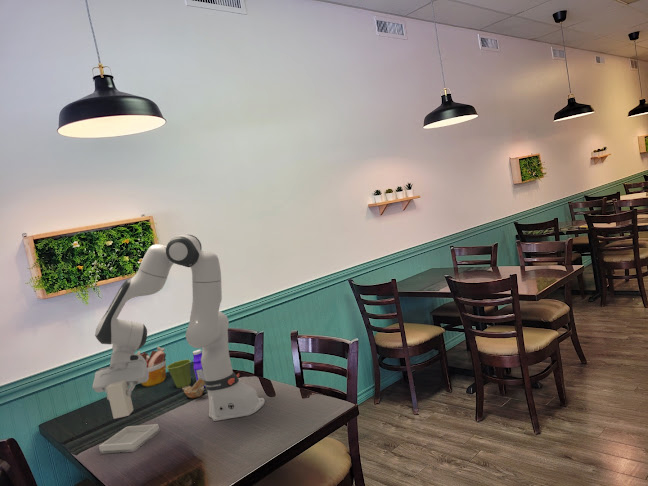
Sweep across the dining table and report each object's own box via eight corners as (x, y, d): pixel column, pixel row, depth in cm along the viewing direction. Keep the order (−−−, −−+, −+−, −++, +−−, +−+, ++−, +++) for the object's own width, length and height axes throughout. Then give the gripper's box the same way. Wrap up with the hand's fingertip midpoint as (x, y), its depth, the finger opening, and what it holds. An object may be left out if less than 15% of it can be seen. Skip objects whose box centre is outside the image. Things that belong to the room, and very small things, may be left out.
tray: (159, 431, 187) (158, 423, 187) (133, 451, 173) (131, 443, 173) (128, 433, 192) (126, 426, 192) (100, 453, 177) (98, 445, 177)
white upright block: (133, 409, 185) (126, 379, 184) (128, 415, 179) (121, 384, 178) (119, 413, 184) (111, 382, 184) (113, 418, 179) (106, 387, 178)
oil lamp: (196, 403, 211) (190, 381, 210) (177, 396, 227) (172, 375, 227) (213, 395, 216) (208, 374, 216) (194, 389, 233) (189, 368, 232)
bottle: (207, 388, 230) (199, 352, 229) (196, 389, 231) (188, 354, 230) (213, 382, 237) (205, 347, 236) (203, 383, 238) (195, 349, 237)
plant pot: (171, 385, 246) (166, 364, 246) (195, 378, 250) (190, 357, 249) (171, 392, 235) (166, 370, 234) (196, 385, 238) (190, 362, 238)
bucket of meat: (163, 375, 272) (154, 340, 270) (178, 377, 260) (169, 341, 259) (128, 389, 257) (120, 352, 256) (143, 392, 246) (134, 354, 245)
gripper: (92, 365, 187) (87, 399, 178) (145, 354, 188) (142, 387, 179) (99, 373, 192) (94, 406, 183) (151, 362, 193) (149, 394, 184)
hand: (119, 397), depth 181 cm, fingers closed on white upright block, 5 cm apart
